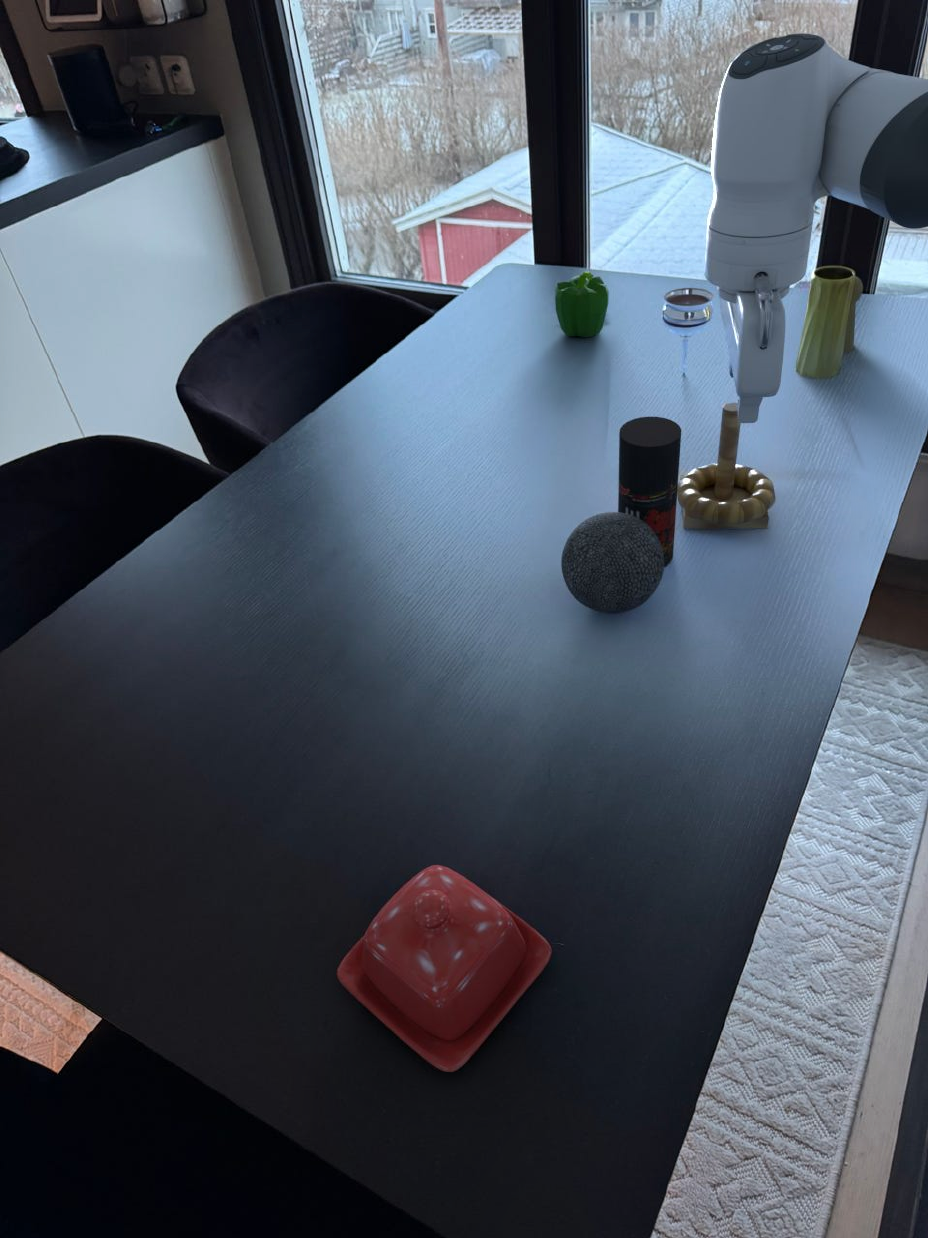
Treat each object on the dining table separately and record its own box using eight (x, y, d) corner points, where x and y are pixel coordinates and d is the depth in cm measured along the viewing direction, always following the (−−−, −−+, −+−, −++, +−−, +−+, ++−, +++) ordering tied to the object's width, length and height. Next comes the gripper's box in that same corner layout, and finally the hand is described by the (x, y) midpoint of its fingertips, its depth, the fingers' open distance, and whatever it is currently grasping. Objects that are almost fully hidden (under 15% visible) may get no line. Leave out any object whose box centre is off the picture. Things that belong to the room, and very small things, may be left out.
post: (758, 484, 104) (772, 385, 96) (767, 528, 97) (782, 426, 89) (680, 485, 105) (686, 388, 97) (683, 529, 98) (690, 428, 90)
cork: (806, 361, 126) (818, 284, 119) (810, 344, 130) (822, 268, 123) (851, 364, 124) (866, 286, 117) (854, 346, 128) (869, 269, 121)
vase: (807, 363, 126) (823, 261, 116) (848, 373, 122) (868, 269, 113) (784, 379, 123) (799, 275, 113) (825, 390, 119) (844, 284, 110)
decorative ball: (651, 641, 85) (655, 558, 79) (551, 625, 88) (547, 544, 82) (670, 579, 92) (675, 498, 86) (576, 566, 95) (574, 487, 89)
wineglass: (717, 380, 124) (725, 295, 117) (682, 396, 122) (688, 310, 114) (683, 365, 129) (688, 283, 121) (648, 380, 126) (651, 297, 119)
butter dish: (451, 1091, 56) (435, 1030, 50) (331, 981, 62) (305, 915, 57) (561, 957, 62) (557, 889, 56) (441, 869, 68) (427, 800, 63)
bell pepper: (551, 325, 144) (549, 263, 138) (601, 318, 145) (601, 256, 138) (561, 346, 138) (559, 282, 132) (613, 339, 138) (614, 274, 132)
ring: (768, 477, 102) (771, 459, 100) (777, 529, 94) (780, 510, 93) (676, 477, 104) (677, 459, 102) (677, 528, 96) (678, 509, 95)
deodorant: (611, 567, 95) (612, 443, 85) (624, 535, 99) (627, 413, 89) (667, 575, 93) (674, 449, 83) (678, 542, 97) (686, 419, 87)
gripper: (811, 297, 71) (789, 449, 80) (779, 215, 86) (763, 351, 95) (729, 301, 72) (717, 451, 81) (712, 220, 87) (703, 353, 96)
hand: (742, 396), depth 88 cm, fingers open, 8 cm apart
